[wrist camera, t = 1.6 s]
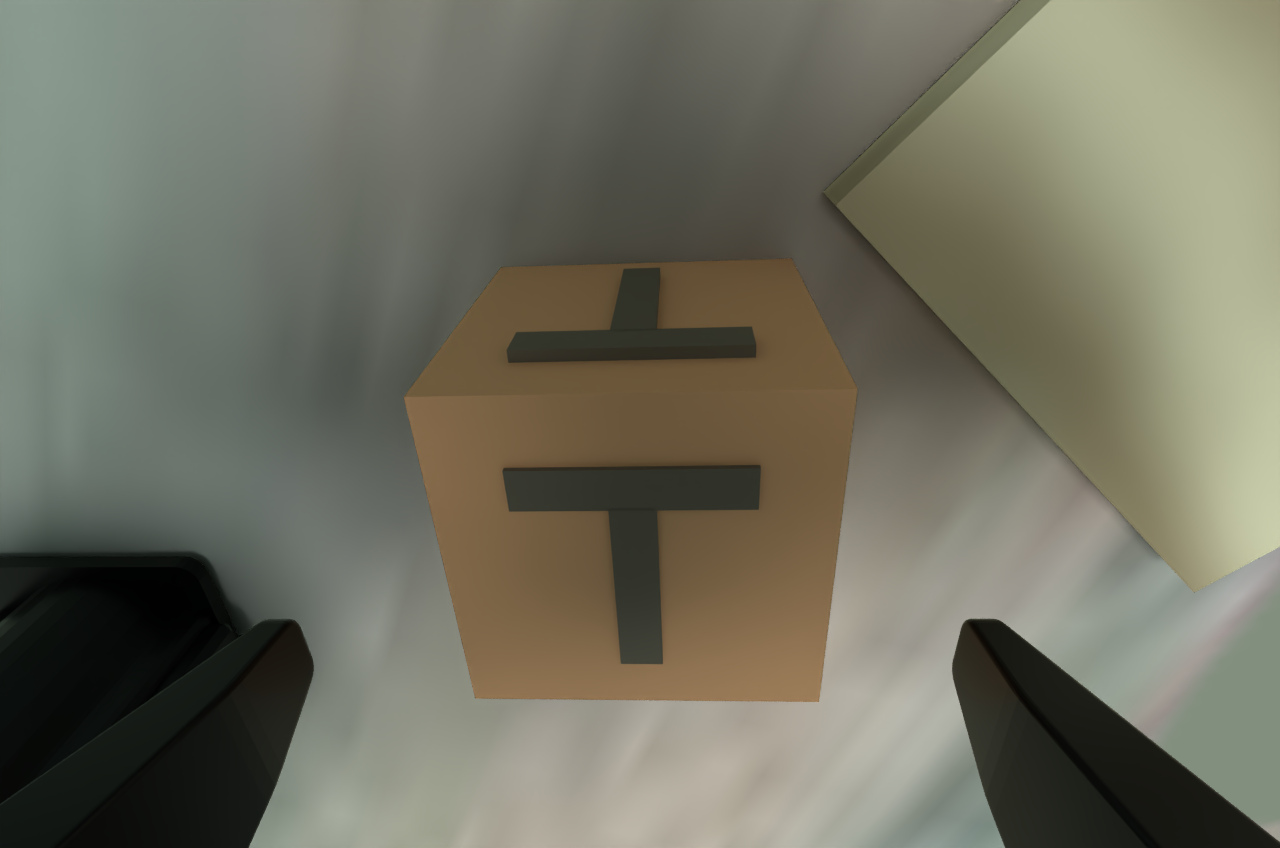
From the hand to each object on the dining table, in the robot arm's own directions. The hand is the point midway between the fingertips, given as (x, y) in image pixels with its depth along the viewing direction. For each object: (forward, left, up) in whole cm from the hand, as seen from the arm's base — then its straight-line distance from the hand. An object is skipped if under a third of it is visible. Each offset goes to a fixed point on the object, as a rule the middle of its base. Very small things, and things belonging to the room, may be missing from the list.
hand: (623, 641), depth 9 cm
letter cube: (0, 0, -7) cm, 7 cm away
